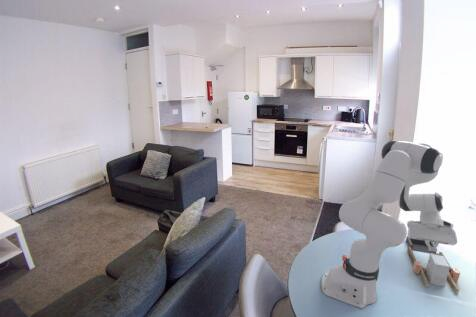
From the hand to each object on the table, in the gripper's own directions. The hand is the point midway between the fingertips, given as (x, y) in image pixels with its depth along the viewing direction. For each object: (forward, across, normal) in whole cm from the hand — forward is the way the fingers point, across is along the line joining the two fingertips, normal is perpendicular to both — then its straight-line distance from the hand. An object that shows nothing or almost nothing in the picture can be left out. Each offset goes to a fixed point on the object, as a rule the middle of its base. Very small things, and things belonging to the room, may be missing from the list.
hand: (432, 250), depth 133 cm
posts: (+12, 0, 0) cm, 12 cm away
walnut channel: (+4, 0, +6) cm, 8 cm away
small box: (+14, -1, -2) cm, 14 cm away
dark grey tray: (-5, 0, +16) cm, 16 cm away
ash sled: (+14, 0, -3) cm, 14 cm away
